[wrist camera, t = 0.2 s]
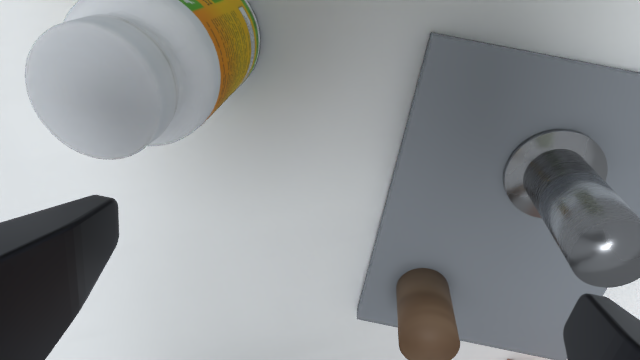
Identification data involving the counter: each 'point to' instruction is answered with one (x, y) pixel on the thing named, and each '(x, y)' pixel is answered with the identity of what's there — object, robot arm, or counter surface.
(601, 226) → the marker post
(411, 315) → the walnut post
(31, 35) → the counter surface
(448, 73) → the board
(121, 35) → the supplement bottle
